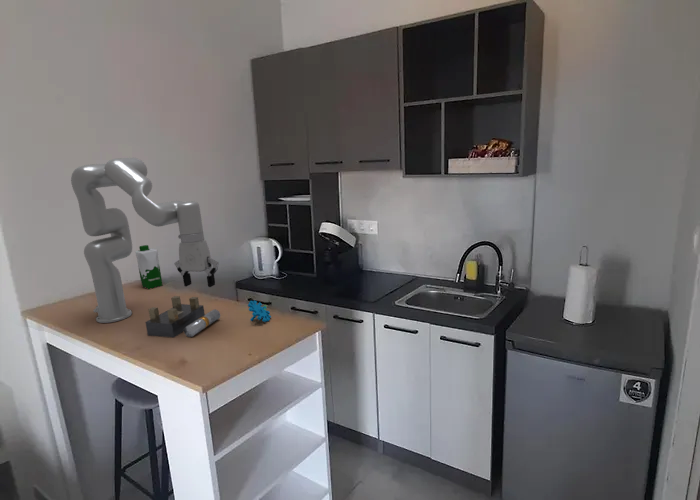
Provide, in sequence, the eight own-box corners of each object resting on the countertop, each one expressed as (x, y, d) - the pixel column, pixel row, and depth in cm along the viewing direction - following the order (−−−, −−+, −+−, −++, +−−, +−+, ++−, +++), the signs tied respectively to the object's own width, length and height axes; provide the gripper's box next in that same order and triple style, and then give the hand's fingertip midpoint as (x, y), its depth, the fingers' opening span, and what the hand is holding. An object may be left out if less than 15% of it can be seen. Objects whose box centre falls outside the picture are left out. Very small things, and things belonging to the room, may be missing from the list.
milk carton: (157, 282, 219) (150, 243, 215) (165, 285, 213) (158, 245, 208) (139, 287, 213) (132, 247, 208) (147, 290, 207) (140, 249, 202)
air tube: (196, 335, 148) (190, 324, 148) (187, 338, 150) (181, 328, 150) (222, 317, 163) (217, 307, 163) (214, 320, 165) (209, 311, 164)
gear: (264, 322, 154) (245, 302, 155) (254, 333, 155) (235, 313, 156) (277, 314, 165) (259, 296, 166) (267, 325, 166) (249, 306, 167)
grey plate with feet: (147, 335, 153) (143, 311, 151) (180, 316, 170) (177, 294, 168) (174, 337, 150) (169, 312, 148) (205, 317, 167) (201, 295, 165)
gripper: (164, 240, 148) (172, 288, 152) (207, 240, 143) (215, 289, 147) (178, 235, 155) (185, 281, 159) (220, 235, 150) (227, 282, 154)
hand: (199, 285), depth 153 cm, fingers open, 9 cm apart
